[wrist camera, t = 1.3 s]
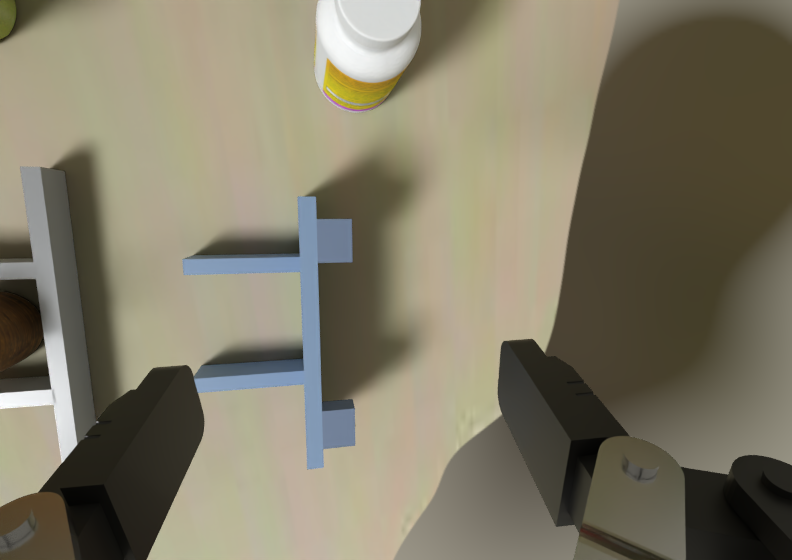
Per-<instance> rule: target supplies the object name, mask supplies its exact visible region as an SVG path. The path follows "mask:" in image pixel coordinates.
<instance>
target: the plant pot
mask: <svg viewBox="0 0 792 560" xmlns="http://www.w3.org/2000/svg"><path fill="white" fill-rule="evenodd" d="M15 19H16V4H15V0H0V39H2V38H4V37H6V36H7V35H8V34H9V33H10V32H11V30H12V28H13V26H14V23H15Z"/></svg>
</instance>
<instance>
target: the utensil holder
mask: <svg viewBox="0 0 792 560" xmlns="http://www.w3.org/2000/svg"><path fill="white" fill-rule="evenodd" d="M43 334H44V333H43V326H42V319H41V315H40V314H39V312H38V310H37V309H36V308H35V307H34V306H33V305H32V304H31V303H30V302H29V301H27V300H26V299H24V298H22V297H20V296H18V295H15V294H12V293H8V292H0V372H2V371H4V370H6V369H7V368H9V367H11V366H13V365H15V364H17V363H19V362H20V361H22V360H24V359H25V358H27V357H28V356H29V355H31V354H32V353H33V352H34V351H35V350H36V349H37V347H38V346H39V344H40V343H41V341H42V338H43Z"/></svg>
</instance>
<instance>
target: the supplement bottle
mask: <svg viewBox="0 0 792 560" xmlns="http://www.w3.org/2000/svg"><path fill="white" fill-rule="evenodd" d="M420 7H421V0H318V4H317V11H316V32H315V53H314V71H315V77H316V80H317V83H318V86H319V88H320V90H321V91H322V93H323V94H324V96H325V97H326V98H327V99H328V100H329V101H330V102H331V103H332V104H334V105H335V106H336V107H338V108H340V109H342V110H345V111H348V112H355V113H360V112H366V111H369V110H372V109H374V108H376V107H377V106H379V105H380V104H381V103H382V102H383V101H384V100H385V99H386V98H387V96H388V95H389V94H390V92H391V91H392V89H393V88H394V86H395V85H396V83H397V82H398V80H399V78H400V77H401V75H402V74H403V72H404V71H405V70H406V68H407V67H408V65H409V64H410V62H411V61H412V59H413V57H414V56H415V53H416V51H417V49H418V46H419V42H420V38H421V16H420Z"/></svg>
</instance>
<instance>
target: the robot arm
mask: <svg viewBox="0 0 792 560" xmlns="http://www.w3.org/2000/svg"><path fill="white" fill-rule="evenodd" d="M498 400H499V405H500V409H501V412H502V414H503V416H504V419H505V421H506V423H507V424H508V427H509V429H510V431H511V433H512V435H513V437H514V439H515V442H516V444H517V446H518V448H519V450H520V452H521V454H522V456H523V458H524V460H525V462H526V465H527V467H528V469H529V471H530V473H531V475H532V477H533V479H534V481H535V483H536V486H537V488H538V490H539V492H540V494H541V496H542V498H543V500H544V502H545V504H546V506H547V508H548V510H549V513H550V515H551V517H552V519H553V521H554V523H555V525H556V526H557V527H558V526H567V525H575V526H576V528H577V530H578V532H579V537H578V542H577V546H576V551H575V555H574V559H573V560H792V465H790V464H787V463H785V462H782V461H779V460H776V459H773V458H769V457H764V456H758V455H748V456H742V457H739V458H737V459H736V460H735V461H734V462H733V464H732V466H731V469H730V472H729V474H728V475H727V474H720V473H714V472H708V471H701V470H695V469H689V468H684V467H680V465H679V464H678V463H677V461H676V460H675V459H674V458H673V457H672V456H671V455H670V454H669V453H667V452H666V451H664V450H663V449H662V448H660V447H658V446H656V445H655V444H652V443H650V442H648V441H645V440H643V439H639V438H635V437H630V436H629V435H628V433H627V432H626V431H625V430H624V429H623V427H622V426H621V425H620V424H619V423H618V422H617V420H616V419H615V418H614V417H613V415H612V414H611V413H610V412H609V411H608V409H607V408H606V407H605V406H604V405H603V403H602V402H601V401H600V400H599V399H598V397H597V396H596V395H593V391H592V390H591V389H590V388H589V387H588V385H587V384H586V383H585V384H584V381H583V379H582V378H581V377H580V376H579V374H578V373H577V372H576V371H575V370H574V368H573V367H571V366H570V365H568V364H567V363H565V362H563V361H562V360H560V359H558V358H557V357H556V356H551V357H547V356H546V355H545V354H544V352H543V351H542V350H541V348H540V347H539V346H538V344H537V343H536V342H535V341H534V340H533V339H524V340H511V341H504V342H503V343H502V346H501V354H500V367H499V380H498ZM203 432H204V414H203V410H202V406H201V403H200V399H199V395H198V392H197V388H196V384H195V381H194V377H193V373H192V371H191V369H190V367H189V366H187V365H182V366H170V367H157V368H153V369H152V370H151V371H150V372H149V373H148V375H147V376H146V377H145V379H144V380H143V381H142V382H141V384H140V385H139V386H138V388H137V389H136V390H130V391H128V392H127V393H126V394H124V395H123V396H121V397H120V398H119V399H117V400H116V401H115V402H113V403H112V404H110V405H109V406H108V408H107V409H106V410H105V411H104V413H103V414H102V415H101V416H100V417H99V419H98V420H97V421H96V425H93V426H92V427H91V428H90V430H89V431H88V432H87V433H86V435H85V436H84V440H81V441H80V442H79V443H78V444H77V446H76V447H75V448H74V449H73V450H72V452H71V453H70V454H69V455H68V457H67V458H66V459H65V460H64V461H63V463H62V464H61V465H60V466H59V468H58V469H57V470H56V471H55V472H54V474H53V475H52V476H51V477H50V478H49V480H48V481H47V482H46V483H45V485H44V486H43V487H42V488H41V489H40V491H39V492H38V493H34V494H30V495H26V496H23V497H21V498H18V499H16V500H13V501H11V502H9V503H7V504H5V505H3V506H2V507H0V560H146V559H147V557H148V555H149V553H150V551H151V548H152V546H153V544H154V542H155V540H156V538H157V535H158V533H159V531H160V529H161V527H162V524H163V522H164V520H165V518H166V516H167V514H168V511H169V509H170V507H171V505H172V503H173V501H174V498H175V496H176V494H177V492H178V490H179V487H180V485H181V483H182V481H183V479H184V477H185V474H186V472H187V470H188V468H189V466H190V464H191V461H192V459H193V457H194V455H195V453H196V451H197V448H198V446H199V444H200V442H201V439H202V436H203Z"/></svg>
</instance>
